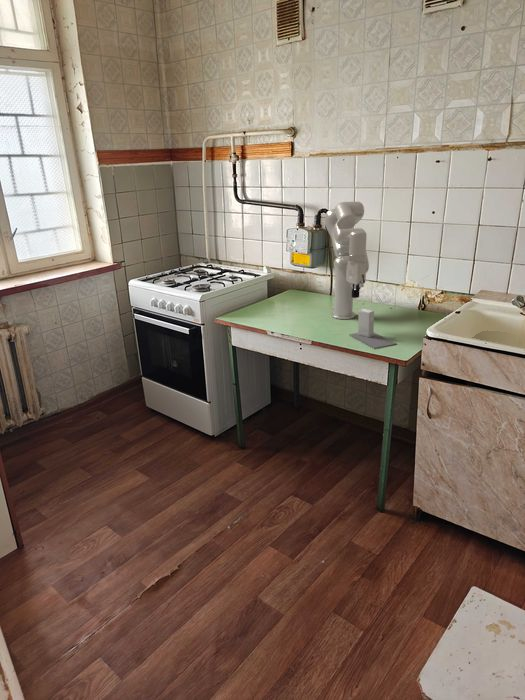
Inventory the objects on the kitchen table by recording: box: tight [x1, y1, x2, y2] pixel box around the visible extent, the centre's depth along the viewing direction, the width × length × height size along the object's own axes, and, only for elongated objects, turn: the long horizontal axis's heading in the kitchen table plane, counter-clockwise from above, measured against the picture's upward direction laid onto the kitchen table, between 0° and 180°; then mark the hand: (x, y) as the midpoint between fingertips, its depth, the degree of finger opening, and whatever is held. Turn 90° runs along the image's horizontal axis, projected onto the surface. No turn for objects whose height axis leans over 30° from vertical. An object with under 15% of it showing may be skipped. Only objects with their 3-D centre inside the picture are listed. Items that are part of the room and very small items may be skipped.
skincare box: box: [357, 308, 375, 337], centre depth 231 cm, size 6×4×12 cm
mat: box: [348, 331, 398, 350], centre depth 228 cm, size 20×12×1 cm, turn 24°
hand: (355, 297), depth 235 cm, fingers closed
